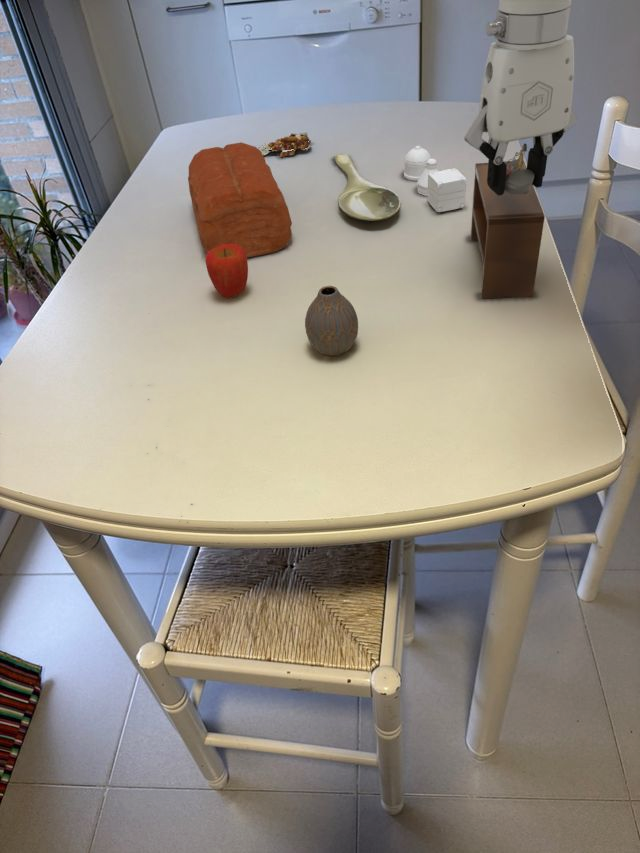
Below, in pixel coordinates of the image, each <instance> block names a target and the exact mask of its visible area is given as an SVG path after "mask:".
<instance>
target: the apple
mask: <svg viewBox="0 0 640 853" xmlns="http://www.w3.org/2000/svg"><path fill="white" fill-rule="evenodd" d="M205 267H206V270H207V274H208V277H209V279H210V282H211V284H212V286H213V287H214V289H215V291H216V292H217V294H219V295H220V297H222V298H225V299H231V298H235V297H237V296H239V295H241V294H242V293H243V292H244V291H245V289H246V287H247V283H248V277H249V262H248V258H247V257H246V253H245V251H244V250H243V248H242V247H241V246H238V245H236V244H222V245H220V246H218V247H215V248H213V249H211V250H210V251H209V252H207V253H206V254H205Z"/></svg>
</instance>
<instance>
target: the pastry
mask: <svg viewBox="0 0 640 853" xmlns="http://www.w3.org/2000/svg"><path fill="white" fill-rule="evenodd" d="M308 141H309V142H308ZM268 143H269V144H267V145H266V143H264V144H265V145H264V146H263V145H261V146H263V148H264V149H271V148H272V150H291V149H294V150H295V151H294V150H292V151H287V152H281V151H280V154H279V155H280V156H279V157H280V158H282V159H283V158H285V157H286V156H294V155H295V153H296V150H298V149H301V150H302V149H305V148H308V147H309V148H311V147H312V146H313V144H312V140H311V139H310V138H309V135H308V133H307V132H299V133H296V132H294V133H291V134H290V135H289V136H283V137H280V138H277V139H276V140H275V141H271V142H268ZM310 143H311V144H310ZM261 146H259V147H257V149H259V148H262V147H261ZM310 146H311V147H310ZM263 148H262V149H263ZM309 148H308V149H309ZM308 149H306V150H303V151H308ZM260 151H261V152H262V155H263V156H266V155H267V154H269V153H271V151H266V150H265V151H262V150H260Z"/></svg>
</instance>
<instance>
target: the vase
mask: <svg viewBox="0 0 640 853" xmlns="http://www.w3.org/2000/svg"><path fill="white" fill-rule="evenodd" d="M304 327H305V333H306V337H307V340H308V341H309V343H310V345H311V346H312V348H313V349H314V350H316V351H317V352H319V353H321V354H322V355H325V356H328V357H336V356H340V355H342V354H344V353H346V352H347V351H349V350H350V349H351V348H352V347H353V345H354V344H355V342H356V340H357V337H358V333H359V318H358V315H357V311H356V308H355V307H354V305H353V304H352V303H351V301H350V300H349V299H348V298H346V297H345V296H344V295H343V294H342V293H340V291H339V288H337V287H336V286H334V285H324V286H322V287H321V288H319V290H318V291H317V294H316V296H315V298H314V299H313V301H312V302H311V303H310V305H309V306H308V308H307V310H306V314H305V319H304Z"/></svg>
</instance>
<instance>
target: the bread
mask: <svg viewBox="0 0 640 853" xmlns="http://www.w3.org/2000/svg"><path fill="white" fill-rule="evenodd" d="M187 181H188V190H189V195H190V200H191V204H192V209H193V215H194V219H195V224H196V227H197V233H198V236H199V239H200V242H201V246H202V248H203V250H205V251H206V252H207V253H208V252H209V251H210V250H211V249H213V248H215V247H218V246H220V245H222V244H236V245H238V246H241V247H242V248H243V250H244V251H245V253H246V257H247V259H248V258H252V257H258V256H262V255H268V254H271V253H276V252H278V251H280V250H282V249H285V248H286V247H287V245H288V243H289V241H290V239H291V237H292V236H293V233H292V224H293V222H292V218H291V215H290V210H289V207H288V205H287V202H286V200H285V197H284V194H283V192H282V191H281V189H280V188H279V185H278V183H277V181H276V180H275V177H274V176H273V173H272V169H271V167H270V165H268V163H267V162H266V158H265V157H264V155H262V152H261V151H260V150H259V149H258V147H256V146H254V145H251V144H247V143H245V142H241V141H240V142H235V143H228V144H226V145H225V146H223V147H220V146H215V147H209V148H203V149H201V150H199V151H198V152H196V153H195V154H194V155H193V157H192V159H191V161H190V163H189V164H188V177H187Z"/></svg>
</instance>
